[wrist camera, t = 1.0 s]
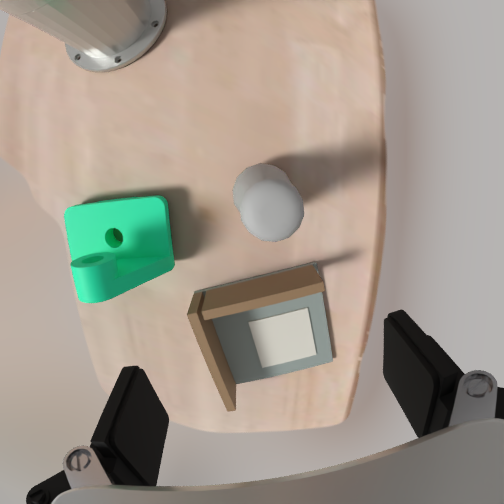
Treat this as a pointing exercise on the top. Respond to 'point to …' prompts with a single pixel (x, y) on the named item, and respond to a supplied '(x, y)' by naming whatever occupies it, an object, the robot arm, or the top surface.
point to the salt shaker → (268, 202)
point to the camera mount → (118, 245)
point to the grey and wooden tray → (261, 327)
